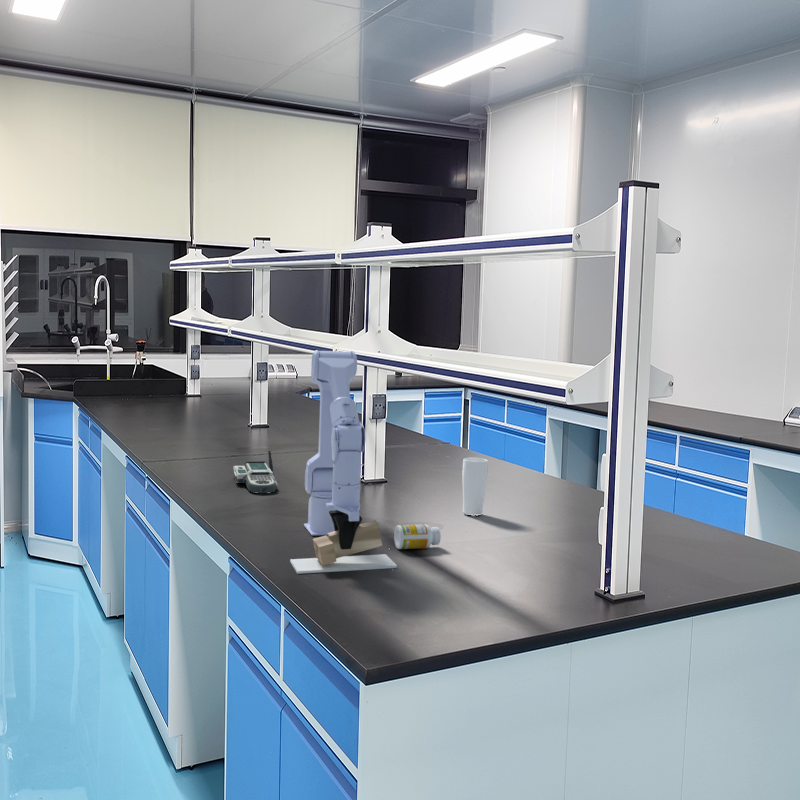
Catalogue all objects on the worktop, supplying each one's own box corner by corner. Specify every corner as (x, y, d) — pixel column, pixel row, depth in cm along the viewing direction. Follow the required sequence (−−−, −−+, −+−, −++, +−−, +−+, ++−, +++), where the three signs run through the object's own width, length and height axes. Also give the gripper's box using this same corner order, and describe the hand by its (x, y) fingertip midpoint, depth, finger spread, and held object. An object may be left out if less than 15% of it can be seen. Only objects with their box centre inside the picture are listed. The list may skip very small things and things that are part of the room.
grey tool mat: (290, 561, 170) (290, 559, 170) (385, 556, 177) (385, 554, 177) (297, 573, 162) (297, 571, 162) (396, 567, 169) (396, 565, 169)
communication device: (240, 497, 228) (240, 466, 227) (231, 478, 251) (231, 450, 250) (282, 495, 232) (283, 465, 231) (269, 477, 255) (270, 450, 254)
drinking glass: (470, 518, 213) (473, 462, 211) (454, 512, 219) (457, 458, 217) (490, 516, 217) (493, 460, 215) (474, 510, 222) (477, 456, 221)
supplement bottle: (394, 549, 184) (434, 547, 187) (401, 549, 179) (442, 548, 182) (393, 525, 185) (433, 524, 188) (400, 524, 180) (441, 523, 183)
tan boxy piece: (316, 556, 171) (311, 534, 170) (376, 540, 174) (372, 518, 174) (322, 565, 165) (318, 542, 164) (384, 548, 169) (380, 525, 168)
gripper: (319, 476, 173) (317, 537, 175) (336, 490, 160) (333, 557, 161) (351, 475, 175) (349, 536, 177) (370, 489, 162) (367, 556, 163)
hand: (344, 546), depth 169 cm, fingers closed on tan boxy piece, 2 cm apart
